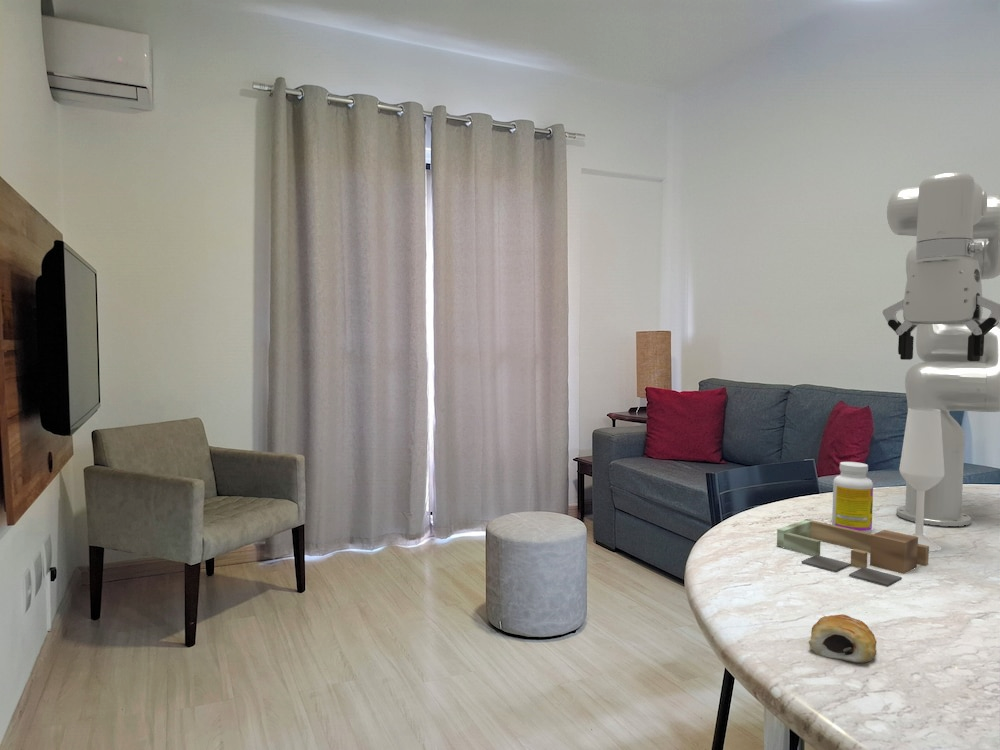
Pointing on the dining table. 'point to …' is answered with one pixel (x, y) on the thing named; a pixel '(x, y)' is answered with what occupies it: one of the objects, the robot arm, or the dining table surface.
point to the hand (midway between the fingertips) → (938, 360)
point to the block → (894, 551)
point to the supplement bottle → (853, 497)
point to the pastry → (843, 639)
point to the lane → (811, 533)
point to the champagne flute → (922, 460)
